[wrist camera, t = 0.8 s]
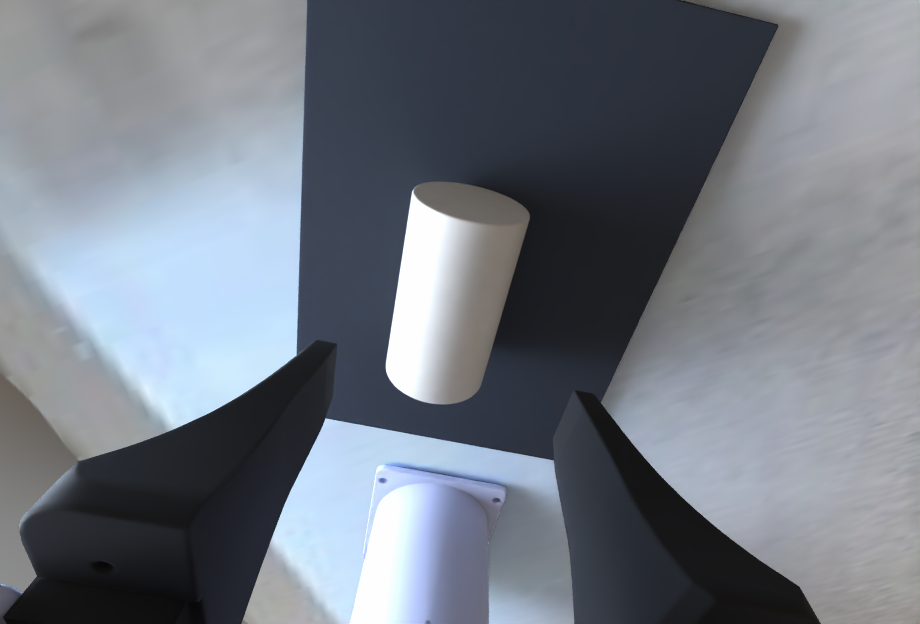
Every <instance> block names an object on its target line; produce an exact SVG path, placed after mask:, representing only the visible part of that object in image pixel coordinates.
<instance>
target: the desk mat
mask: <svg viewBox="0 0 920 624" xmlns="http://www.w3.org/2000/svg"><path fill="white" fill-rule="evenodd" d="M777 28H778V25H777V24H773V23H769V22H765V21H761V20H757V19H753V18H749V17H745V16H741V15H737V14H733V13H729V12H725V11H721V10H717V9H713V8H709V7H705V6H701V5H697V4H693V3H689V2H685V1H681V0H307V29H306V62H305V95H304V128H303V161H302V195H301V228H300V261H299V294H298V327H297V355H298V354H299V353H300V352H301V351H303V350H304V349H305V348H306V347H308V346H309V345H310V344H311V343H312V342H314V341H315V340H322V341H327V342H332V343H337V356H336V367H335V378H334V390H333V398H332V401H331V403H330V406H329V409H328V412H327V415H326V418H327V419H333V420H338V421H344V422H349V423H354V424H360V425H365V426H371V427H376V428H382V429H387V430H392V431H398V432H403V433H409V434H414V435H420V436H425V437H431V438H436V439H441V440H447V441H452V442H458V443H463V444H469V445H474V446H479V447H485V448H490V449H496V450H501V451H507V452H512V453H518V454H523V455H528V456H534V457H539V458H545V459H550V460H554V444H553V437H554V435H555V433H556V430H557V428H558V426H559V423H560V421H561V418H562V416H563V414H564V411H565V409H566V407H567V404H568V402H569V400H570V397H571V395H572V393H573V390H578V391H583V392H588V393H593V394H594V395H595V396H596V398H597V399H598V400H599V401H600V403H601V401H602V399H603V397H604V394H605V392H606V390H607V388H608V386H609V384H610V382H611V380H612V377H613V375H614V373H615V371H616V369H617V367H618V365H619V363H620V361H621V358H622V356H623V354H624V352H625V350H626V348H627V346H628V344H629V341H630V339H631V337H632V335H633V333H634V331H635V329H636V327H637V325H638V322H639V320H640V318H641V316H642V314H643V312H644V310H645V308H646V305H647V303H648V301H649V299H650V297H651V295H652V293H653V291H654V289H655V286H656V284H657V282H658V280H659V278H660V276H661V274H662V272H663V269H664V267H665V265H666V263H667V261H668V259H669V257H670V255H671V253H672V250H673V248H674V246H675V244H676V242H677V240H678V238H679V236H680V233H681V231H682V229H683V227H684V225H685V223H686V221H687V219H688V217H689V214H690V212H691V210H692V208H693V206H694V204H695V202H696V200H697V197H698V195H699V193H700V191H701V189H702V187H703V185H704V183H705V181H706V178H707V176H708V174H709V172H710V170H711V168H712V166H713V164H714V161H715V159H716V157H717V155H718V153H719V151H720V149H721V147H722V145H723V142H724V140H725V138H726V136H727V134H728V132H729V130H730V128H731V125H732V123H733V121H734V119H735V117H736V115H737V113H738V111H739V108H740V106H741V104H742V102H743V100H744V98H745V96H746V94H747V92H748V89H749V87H750V85H751V83H752V81H753V79H754V77H755V75H756V72H757V70H758V68H759V66H760V64H761V62H762V60H763V58H764V56H765V53H766V51H767V49H768V47H769V45H770V43H771V41H772V39H773V36H774V34H775V32H776V30H777ZM428 182H454V183H462V184H468V185H473V186H477V187H481V188H485V189H488V190H491V191H494V192H497V193H500V194H502V195H505V196H507V197H509V198H511V199H513V200H515V201H516V202H518V203H520V204H521V205H522V206H524V207H525V208H526V209H527V211H528V212H529V214H530V219H529V223H528V226H527V230H526V233H525V236H524V240H523V243H522V247H521V250H520V254H519V257H518V260H517V264H516V267H515V271H514V274H513V278H512V281H511V284H510V288H509V291H508V295H507V298H506V302H505V305H504V308H503V312H502V315H501V319H500V322H499V326H498V329H497V332H496V336H495V339H494V343H493V346H492V350H491V353H490V356H489V360H488V363H487V367H486V370H485V374H484V377H483V380H482V384H481V387H480V388H479V390H478V391H477V392H476V393H475V394H474V395H473V396H472V397H470V398H469V399H467V400H465V401H462V402H458V403H454V404H432V403H427V402H423V401H420V400H417V399H414V398H412V397H410V396H408V395H406V394H404V393H403V392H402V391H400V390H399V389H398V388H397V387H396V386H395V385H394V384H393V383H392V382H391V380H390V379H389V377H388V374H387V371H386V360H387V353H388V347H389V340H390V334H391V327H392V321H393V314H394V307H395V301H396V294H397V288H398V281H399V275H400V268H401V262H402V255H403V249H404V242H405V235H406V229H407V222H408V216H409V209H410V203H411V196H412V191H413V189H414V188H415V187H416V186H417V185H420V184H423V183H428Z"/></svg>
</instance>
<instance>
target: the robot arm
mask: <svg viewBox="0 0 920 624" xmlns="http://www.w3.org/2000/svg"><path fill="white" fill-rule="evenodd" d="M336 356H337V343H332V342H327V341H322V340H315V341H314V342H312V343H311V344H310V345H309V346H308V347H306V348H305V349H304V350H303V351H301V352H300V353H299V354H298V355H297V356H295V357H294V358H293V359H292V360H290V361H289V362H288V363H287V364H285V365H284V366H283V367H281V368H280V369H279V370H277V371H276V372H274V373H273V374H272V375H270V376H269V377H268V378H266V379H265V380H263V381H262V382H260V383H259V384H257V385H256V386H254V387H253V388H251V389H250V390H248V391H247V392H245V393H244V394H242V395H241V396H239V397H237V398H236V399H234V400H232V401H231V402H229V403H227V404H225V405H224V406H222V407H220V408H218V409H216V410H215V411H213V412H211V413H209V414H207V415H205V416H202V417H200V418H198V419H196V420H194V421H191V422H189V423H187V424H185V425H183V426H181V427H178V428H176V429H174V430H171V431H169V432H166V433H164V434H161V435H159V436H156V437H154V438H151V439H148V440H145V441H143V442H140V443H137V444H134V445H131V446H128V447H125V448H122V449H119V450H116V451H112V452H109V453H106V454H102V455H99V456H96V457H92V458H89V459H86V460H82V461H78V462H77V463H76V464H75V465H74V466H73V467H72V468H71V469H69V470H68V471H67V472H66V473H65V474H64V475H63V476H62V477H61V478H60V479H59V480H58V481H57V482H56V483H55V484H54V485H53V486H52V487H51V488H50V489H49V490H48V491H47V492H46V493H45V494H44V495H43V496H42V497H41V498H40V500H39V501H37V503H36V504H35V505H34V506H33V507H32V508H31V509H30V510H29V511H28V512H27V513H26V514H25V515H24V516H23V517H22V519H21V522H20V525H19V531H20V536H21V540H22V543H23V546H24V548H25V550H26V552H27V554H28V557H29V559H30V561H31V563H32V566H33V568H34V570H35V572H36V575H37V577H36V578H35V579H34V581H33V582H32V583H31V584H30V586H29V587H28V588H27V589H26V590H25V591H24V593H23V594H22V593H21V592H20V591H19V590H18V589H16V588H14V587H12V586H9V585H5V584H1V583H0V624H241V623H242V620H243V617H244V614H245V611H246V608H247V606H248V603H249V600H250V597H251V594H252V591H253V588H254V586H255V583H256V580H257V577H258V574H259V571H260V568H261V566H262V563H263V560H264V558H265V555H266V552H267V549H268V547H269V544H270V541H271V538H272V536H273V533H274V530H275V528H276V525H277V522H278V520H279V517H280V515H281V512H282V509H283V507H284V504H285V502H286V500H287V497H288V495H289V493H290V491H291V489H292V487H293V485H294V483H295V481H296V479H297V477H298V475H299V473H300V471H301V469H302V467H303V465H304V463H305V461H306V459H307V457H308V455H309V453H310V451H311V449H312V446H313V444H314V442H315V440H316V438H317V436H318V434H319V432H320V430H321V428H322V426H323V423H324V421H325V418H326V415H327V412H328V409H329V406H330V403H331V401H332V398H333V390H334V378H335V367H336ZM553 444H554V465H555V473H556V479H557V485H558V490H559V496H560V501H561V506H562V512H563V517H564V522H565V528H566V533H567V539H568V546H569V553H570V564H571V576H572V589H573V605H574V622H575V624H821V623H820V622H819V620H818V618H817V616H816V615H815V613H814V611H813V609H812V608H811V606H810V604H809V602H808V601H807V599H806V597H805V595H804V594H803V592H802V590H801V589H800V587H799V586H797V585H796V584H794V583H793V582H791V581H790V580H788V579H787V578H785V577H784V576H782V575H781V574H779V573H778V572H776V571H775V570H773V569H772V568H770V567H769V566H767V565H766V564H764V563H763V562H761V561H760V560H758V559H757V558H756V557H754V556H753V555H751V554H750V553H749V552H747V551H746V550H745V549H743V548H742V547H741V546H739V545H738V544H737V543H735V542H734V541H733V540H731V539H730V538H729V537H727V536H726V535H725V534H724V533H722V532H721V531H720V530H719V529H717V528H716V527H715V526H714V525H713V524H711V523H710V522H709V521H708V520H707V519H706V518H704V517H703V516H702V515H701V514H700V513H699V512H697V511H696V510H695V509H694V508H693V507H692V506H691V505H690V504H688V503H687V502H686V501H685V500H684V499H683V498H682V497H681V496H680V495H679V494H678V493H677V492H676V491H675V490H674V489H673V488H672V487H671V486H670V485H669V484H668V483H667V482H666V481H665V480H664V479H663V478H662V477H661V476H660V475H659V474H658V473H657V472H656V471H655V469H654V468H653V467H652V466H651V465H650V464H649V463H648V462H647V460H646V459H645V458H644V457H643V456H642V455H641V453H640V452H639V451H638V450H637V449H636V448H635V446H634V445H633V444H632V443H631V441H630V440H629V439H628V438H627V436H626V435H625V434H624V433H623V431H622V430H621V429H620V427H619V426H618V425H617V424H616V422H615V421H614V420H613V418H612V417H611V416H610V414H609V413H608V412H607V410H606V409H605V408H604V407H603V405H602V404H601V403H600V401H599V400H598V399H597V398H596V396H595V395H594V394H593V393H588V392H583V391H578V390H573V393H572V395H571V397H570V400H569V402H568V404H567V407H566V409H565V411H564V414H563V416H562V418H561V421H560V423H559V426H558V428H557V430H556V433H555V435H554V437H553ZM506 495H507V492H506V488H505V487H504V486H501V485H497V484H491V483H485V482H480V481H474V480H469V479H463V478H458V477H452V476H446V475H441V474H435V473H430V472H424V471H419V470H413V469H407V468H402V467H396V466H391V465H380V466H379V467H378V468H377V472H376V477H375V483H374V489H373V495H372V501H371V507H370V513H369V520H368V526H367V532H366V538H365V544H364V550H363V558H364V559H365V561H364V566H363V570H362V574H361V579H360V583H359V587H358V591H357V596H356V600H355V604H354V609H353V613H352V617H351V621H350V624H489V566H488V542H489V540H490V537H491V535H492V532H493V529H494V527H495V524H496V522H497V519H498V517H499V514H500V511H501V509H502V506H503V504H504V501H505V498H506Z"/></svg>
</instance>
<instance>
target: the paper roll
mask: <svg viewBox="0 0 920 624" xmlns="http://www.w3.org/2000/svg"><path fill="white" fill-rule="evenodd" d="M529 219H530V214H529V212H528V211H527V209H526V208H525V207H524V206H522V205H521V204H520V203H518V202H516V201H515V200H513V199H511V198H509V197H507V196H505V195H502V194H500V193H497V192H494V191H491V190H488V189H485V188H481V187H477V186H473V185H468V184H462V183H454V182H428V183H423V184H420V185H417V186H416V187H415V188H414V189H413V191H412V196H411V203H410V209H409V216H408V222H407V229H406V235H405V242H404V249H403V255H402V262H401V268H400V275H399V281H398V288H397V294H396V301H395V307H394V314H393V321H392V327H391V334H390V340H389V347H388V353H387V360H386V371H387V374H388V377H389V379H390V380H391V382H392V383H393V384H394V385H395V386H396V387H397V388H398V389H399V390H400V391H402V392H403V393H404V394H406V395H408V396H410V397H412V398H414V399H417V400H420V401H423V402H427V403H432V404H454V403H458V402H462V401H465V400H467V399H469V398H470V397H472V396H473V395H474V394H475V393H476V392H477V391H478V390H479V388H480V387H481V384H482V380H483V377H484V374H485V370H486V367H487V363H488V360H489V356H490V353H491V350H492V346H493V343H494V339H495V336H496V332H497V329H498V326H499V322H500V319H501V315H502V312H503V308H504V305H505V302H506V298H507V295H508V291H509V288H510V284H511V281H512V278H513V274H514V271H515V267H516V264H517V260H518V257H519V254H520V250H521V247H522V243H523V240H524V236H525V233H526V230H527V226H528V223H529Z"/></svg>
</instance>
